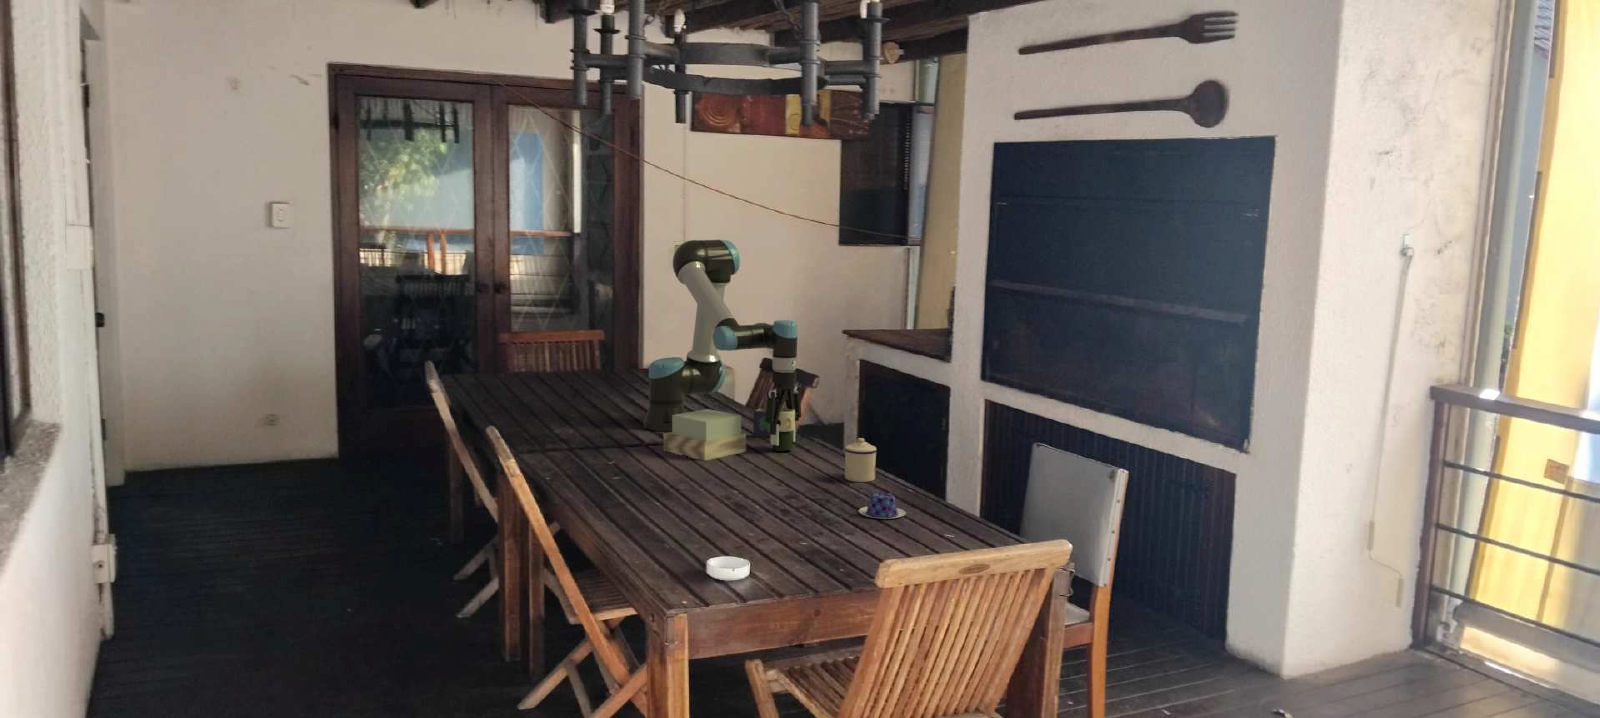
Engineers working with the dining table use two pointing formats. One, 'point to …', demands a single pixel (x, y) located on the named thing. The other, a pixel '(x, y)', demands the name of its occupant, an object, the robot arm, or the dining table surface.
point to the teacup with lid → (860, 461)
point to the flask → (761, 424)
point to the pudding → (882, 507)
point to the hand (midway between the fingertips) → (782, 442)
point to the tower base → (704, 446)
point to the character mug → (785, 429)
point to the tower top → (706, 425)
